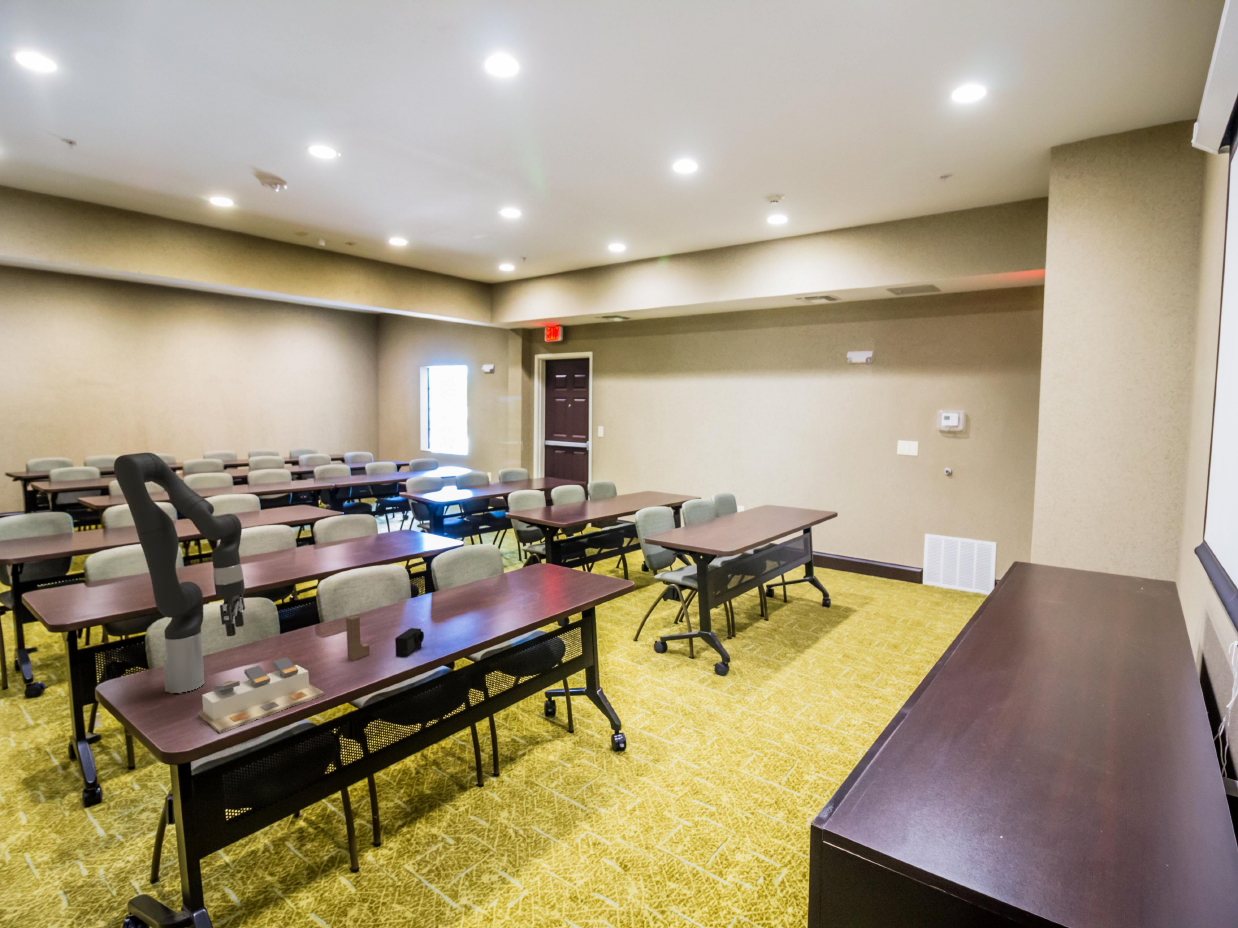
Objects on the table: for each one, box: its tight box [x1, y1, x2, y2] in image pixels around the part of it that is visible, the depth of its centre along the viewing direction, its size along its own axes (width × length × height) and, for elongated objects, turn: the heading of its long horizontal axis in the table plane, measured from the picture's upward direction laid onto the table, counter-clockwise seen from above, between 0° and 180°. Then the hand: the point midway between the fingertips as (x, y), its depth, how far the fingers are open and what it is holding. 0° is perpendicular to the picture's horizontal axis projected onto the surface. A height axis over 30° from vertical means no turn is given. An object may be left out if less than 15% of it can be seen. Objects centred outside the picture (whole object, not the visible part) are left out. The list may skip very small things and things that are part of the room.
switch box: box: [201, 664, 310, 720], centre depth 179 cm, size 26×8×6 cm, turn 142°
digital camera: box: [394, 627, 425, 658], centre depth 217 cm, size 10×5×7 cm, turn 169°
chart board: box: [198, 683, 325, 734], centre depth 177 cm, size 28×16×1 cm, turn 142°
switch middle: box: [243, 665, 270, 687], centre depth 179 cm, size 4×8×1 cm, turn 52°
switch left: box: [213, 680, 241, 691], centre depth 172 cm, size 4×8×1 cm, turn 52°
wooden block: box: [345, 614, 371, 662], centre depth 212 cm, size 7×3×15 cm, turn 145°
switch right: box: [272, 656, 298, 677], centre depth 185 cm, size 4×8×1 cm, turn 52°
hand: (235, 630), depth 185 cm, fingers open, 8 cm apart
